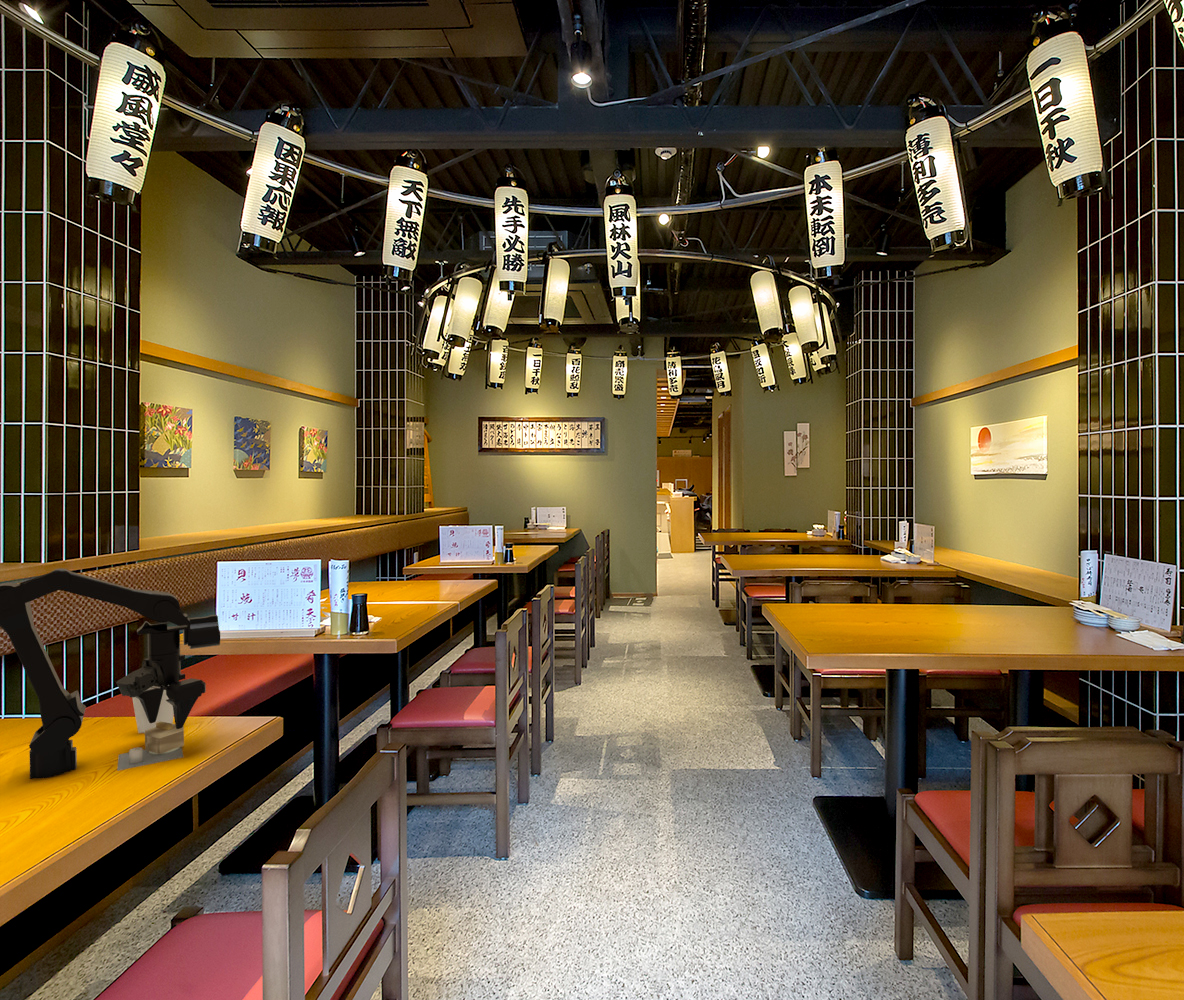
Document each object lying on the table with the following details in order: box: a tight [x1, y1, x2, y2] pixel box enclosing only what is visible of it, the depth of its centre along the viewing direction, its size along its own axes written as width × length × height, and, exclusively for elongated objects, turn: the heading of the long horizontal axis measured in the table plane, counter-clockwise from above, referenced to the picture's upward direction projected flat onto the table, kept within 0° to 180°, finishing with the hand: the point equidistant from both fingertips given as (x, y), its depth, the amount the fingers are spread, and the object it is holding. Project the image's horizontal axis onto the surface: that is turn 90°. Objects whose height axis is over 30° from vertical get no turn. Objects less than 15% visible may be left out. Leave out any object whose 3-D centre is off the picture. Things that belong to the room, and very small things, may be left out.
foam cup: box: [131, 685, 174, 734], centre depth 151 cm, size 10×9×13 cm
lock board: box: [116, 746, 184, 772], centre depth 134 cm, size 11×10×4 cm
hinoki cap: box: [144, 722, 185, 754], centre depth 137 cm, size 5×5×5 cm
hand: (165, 725), depth 137 cm, fingers open, 9 cm apart
